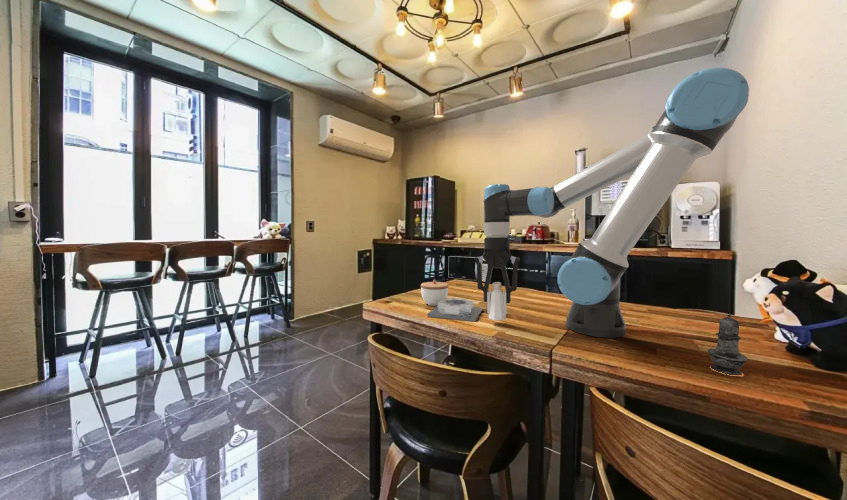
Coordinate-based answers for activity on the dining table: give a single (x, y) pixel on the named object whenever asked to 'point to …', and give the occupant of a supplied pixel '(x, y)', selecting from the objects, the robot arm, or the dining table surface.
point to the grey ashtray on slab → (456, 309)
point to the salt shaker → (497, 303)
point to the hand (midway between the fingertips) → (497, 312)
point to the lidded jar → (434, 292)
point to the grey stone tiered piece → (727, 348)
